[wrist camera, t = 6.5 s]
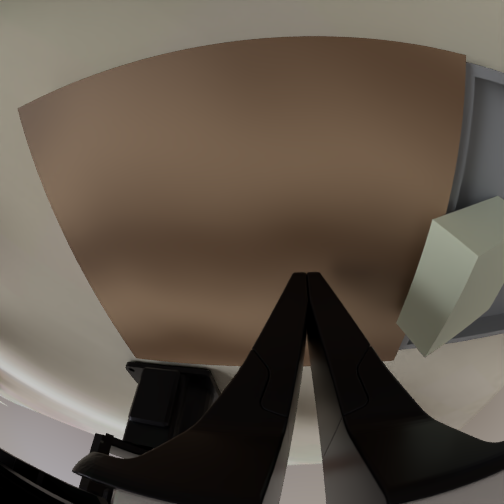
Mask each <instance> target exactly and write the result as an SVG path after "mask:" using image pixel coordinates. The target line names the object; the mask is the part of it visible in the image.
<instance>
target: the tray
mask: <svg viewBox="0 0 504 504" xmlns="http://www.w3.org/2000/svg"><path fill="white" fill-rule="evenodd" d="M496 196H499V197H501V198H502V199H503V200H504V73H502V72H499V71H496V70H493V69H490V68H486V67H483V66H479V65H476V64H472V63H468V62H466V77H465V96H464V109H463V119H462V128H461V136H460V143H459V150H458V157H457V163H456V168H455V174H454V179H453V184H452V189H451V194H450V198H449V202H448V207H447V211H446V214H449V213H452V212H455V211H457V210H460V209H463V208H466V207H469V206H471V205H474V204H477V203H479V202H482V201H485V200H488V199H490V198H493V197H496ZM502 333H504V284H503V286H502V287H501V289H500V291H499V293H498V295H497V296H496V298H495V300H494V302H493V303H492V305H491V307H490V308H489V309H488V310H487V311H486V312H485V313H484V314H482V315H481V316H480V317H479V318H478V319H476V320H475V321H474V322H473V323H471V324H470V325H469V326H468V327H466V328H465V329H464V330H462V331H461V332H460V333H458V334H457V335H456V336H454V337H453V338H452V339H450V340H449V341H448V342H446V343H445V344H447V343H454V342H460V341H466V340H471V339H477V338H482V337H487V336H492V335H497V334H502ZM411 348H416V346H415V345H414V344H413V343H412V341H411V340H410V339H409V338H408V337H407V335H406V334H405V336H404V338H403V341H402V343H401V345H400V347H399V350H402V349H411Z"/></svg>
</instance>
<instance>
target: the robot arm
mask: <svg viewBox="0 0 504 504" xmlns="http://www.w3.org/2000/svg"><path fill="white" fill-rule="evenodd" d="M306 337H307V343H308V350H309V357H310V364H311V371H312V378H313V386H314V393H315V401H316V409H317V417H318V426H319V434H320V443H321V452H322V459H323V460H322V462H323V472H324V482H325V493H326V504H504V441H502V442H496V443H492V442H486V441H483V440H480V439H477V438H475V437H473V436H470V435H468V434H465V433H463V432H461V431H459V430H456V429H454V428H452V427H449V426H447V425H445V424H443V423H440V422H438V421H436V420H435V419H433V418H432V417H430V416H429V415H428V414H427V413H425V412H424V411H423V410H422V408H421V407H420V406H419V405H418V404H417V403H416V402H415V400H414V399H413V398H412V397H411V396H410V395H409V393H408V392H407V391H406V390H405V389H404V388H403V386H402V385H401V384H400V383H399V382H398V381H397V379H396V378H395V377H394V376H393V375H392V373H391V372H390V371H389V370H388V368H387V367H386V366H385V364H384V363H383V362H382V360H381V359H380V357H379V356H378V355H377V353H376V352H375V350H374V349H373V347H372V346H371V345H370V343H369V341H368V340H367V338H366V337H365V336H364V334H363V333H362V331H361V330H360V328H359V327H358V325H357V324H356V322H355V321H354V320H353V318H352V317H351V315H350V314H349V312H348V311H347V310H346V308H345V307H344V305H343V304H342V302H341V301H340V300H339V298H338V297H337V295H336V294H335V293H334V291H333V290H332V288H331V287H330V286H329V284H328V283H327V281H326V280H325V279H324V277H323V276H322V274H321V273H320V272H307V274H306V273H305V272H294V273H293V274H292V275H291V277H290V279H289V281H288V283H287V285H286V287H285V289H284V290H283V292H282V294H281V296H280V298H279V300H278V302H277V304H276V305H275V307H274V309H273V311H272V313H271V315H270V316H269V318H268V320H267V322H266V324H265V326H264V327H263V329H262V331H261V333H260V335H259V336H258V338H257V340H256V342H255V344H254V345H253V347H252V350H251V351H250V352H249V354H248V356H247V358H246V359H245V361H244V363H243V364H242V366H241V367H240V369H239V371H238V372H237V374H236V375H235V376H234V378H233V379H232V380H231V382H230V383H229V384H228V386H227V387H226V388H225V390H224V391H223V392H222V393H221V394H220V392H219V389H218V387H217V385H216V383H215V381H214V378H213V376H212V374H211V372H210V371H208V370H205V369H194V368H182V367H171V366H161V365H152V364H144V363H136V362H127V365H126V367H125V368H126V370H127V371H128V372H129V373H130V375H131V376H132V377H133V378H134V380H135V381H136V382H137V383H138V386H137V389H136V393H135V396H134V399H133V402H132V406H131V409H130V412H129V416H128V418H129V419H128V422H127V426H126V429H125V433H124V436H123V440H120V439H117V438H114V436H113V435H110V434H108V433H106V436H105V435H101V434H97V433H95V437H94V440H93V443H92V446H91V450H90V453H89V454H88V455H87V456H85V457H84V458H83V459H81V460H80V461H79V462H78V463H77V464H76V465H75V467H74V468H73V470H72V472H74V473H76V474H78V475H80V476H82V479H81V482H80V485H79V488H77V487H75V486H73V485H70V484H68V483H66V482H64V481H62V480H60V479H58V478H56V477H54V476H52V475H50V474H48V473H45V472H44V471H42V470H40V469H38V468H36V467H34V466H32V465H30V464H28V463H26V462H24V461H22V460H21V459H19V458H17V457H15V456H13V455H12V454H10V453H8V452H7V451H5V450H3V449H1V448H0V504H279V501H280V496H281V492H282V486H283V482H284V477H285V472H286V467H287V462H288V457H289V451H290V446H291V440H292V435H293V429H294V423H295V417H296V411H297V405H298V398H299V391H300V385H301V378H302V371H303V363H304V356H305V348H306ZM109 453H111V454H114V455H116V456H119V457H122V458H125V459H121V458H115V457H113V456H109Z"/></svg>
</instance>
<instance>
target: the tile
mask: <svg viewBox="0 0 504 504" xmlns="http://www.w3.org/2000/svg"><path fill="white" fill-rule="evenodd" d="M503 284H504V200H503V199H502V198H501V197H499V196H496V197H493V198H490V199H488V200H485V201H482V202H479V203H477V204H474V205H471V206H469V207H466V208H463V209H460V210H457V211H455V212H452V213H449V214H446V215H443V216H441V217H438V218H435V219H432V223H431V226H430V230H429V233H428V236H427V240H426V243H425V246H424V249H423V252H422V255H421V259H420V262H419V264H418V267H417V270H416V273H415V276H414V279H413V282H412V284H411V287H410V290H409V292H408V295H407V297H406V300H405V303H404V305H403V308H402V310H401V313H400V315H399V317H398V320H397V322H396V324H397V325H398V326H399V327H400V328H401V329H402V331H403V332H404V333H405V334H406V335H407V337H408V338H409V339H410V340H411V341H412V343H413V344H414V345H415V346H416V348H417V349H418V350H419V351H420V352H421V354H422V355H423V356H424V357H426V356H428V355H429V354H431V353H432V352H434V351H435V350H436V349H438V348H439V347H441V346H442V345H443V344H445V343H446V342H448V341H449V340H450V339H452V338H453V337H454V336H456V335H457V334H458V333H460V332H461V331H462V330H464V329H465V328H466V327H468V326H469V325H470V324H471V323H473V322H474V321H475V320H476V319H478V318H479V317H480V316H481V315H482V314H484V313H485V312H486V311H487V310H488V309H489V308H490V307H491V305H492V303H493V302H494V300H495V298H496V296H497V295H498V293H499V291H500V289H501V287H502V286H503Z"/></svg>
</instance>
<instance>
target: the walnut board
mask: <svg viewBox="0 0 504 504" xmlns="http://www.w3.org/2000/svg"><path fill="white" fill-rule="evenodd" d="M465 77H466V55H463V54H459V53H455V52H450V51H446V50H441V49H437V48H432V47H427V46H421V45H415V44H409V43H402V42H395V41H387V40H378V39H367V38H353V37H327V36H303V37H277V38H263V39H252V40H242V41H234V42H226V43H219V44H213V45H206V46H201V47H195V48H190V49H185V50H180V51H175V52H171V53H166V54H162V55H158V56H154V57H150V58H146V59H143V60H139V61H136V62H132V63H129V64H125V65H122V66H119V67H116V68H113V69H110V70H107V71H104V72H101V73H98V74H95V75H92V76H90V77H87V78H84V79H82V80H79V81H77V82H74V83H72V84H69V85H67V86H64V87H62V88H60V89H57V90H55V91H53V92H51V93H48V94H46V95H44V96H42V97H40V98H38V99H36V100H34V101H32V102H30V103H28V104H26V105H24V106H22V107H20V108H18V112H19V116H20V120H21V123H22V126H23V130H24V133H25V136H26V140H27V143H28V146H29V149H30V152H31V155H32V158H33V161H34V163H35V166H36V169H37V172H38V174H39V177H40V180H41V182H42V185H43V187H44V190H45V192H46V195H47V197H48V200H49V202H50V204H51V207H52V209H53V211H54V214H55V216H56V218H57V220H58V223H59V225H60V227H61V229H62V231H63V233H64V235H65V238H66V240H67V242H68V244H69V246H70V248H71V250H72V252H73V254H74V256H75V258H76V260H77V262H78V263H79V265H80V267H81V269H82V271H83V273H84V275H85V277H86V278H87V280H88V282H89V284H90V286H91V287H92V289H93V291H94V293H95V294H96V296H97V298H98V300H99V301H100V303H101V305H102V306H103V308H104V310H105V311H106V313H107V314H108V316H109V318H110V319H111V321H112V323H113V324H114V326H115V327H116V329H117V330H118V332H119V333H120V335H121V336H122V338H123V340H124V341H125V343H126V344H127V345H128V347H129V348H130V350H131V351H132V353H133V354H134V356H135V357H136V358H140V359H148V360H157V361H168V362H179V363H191V364H206V365H226V366H242V364H243V363H244V361H245V359H246V358H247V356H248V354H249V352H250V351H251V350H252V347H253V345H254V344H255V342H256V340H257V338H258V336H259V335H260V333H261V331H262V329H263V327H264V326H265V324H266V322H267V320H268V318H269V316H270V315H271V313H272V311H273V309H274V307H275V305H276V304H277V302H278V300H279V298H280V296H281V294H282V292H283V290H284V289H285V287H286V285H287V283H288V281H289V279H290V277H291V275H292V274H293V273H294V272H305V273H306V274H307V272H320V273H321V274H322V276H323V277H324V279H325V280H326V281H327V283H328V284H329V286H330V287H331V288H332V290H333V291H334V293H335V294H336V295H337V297H338V298H339V300H340V301H341V302H342V304H343V305H344V307H345V308H346V310H347V311H348V312H349V314H350V315H351V317H352V318H353V320H354V321H355V322H356V324H357V325H358V327H359V328H360V330H361V331H362V333H363V334H364V336H365V337H366V338H367V340H368V341H369V343H370V345H371V346H372V347H373V349H374V350H375V352H376V353H377V355H378V356H379V357H380V359H381V360H382V361H392V360H394V358H395V356H396V354H397V352H398V350H399V347H400V345H401V343H402V341H403V338H404V336H405V333H404V332H403V331H402V329H401V328H400V327H399V326H398V325H397V324H396V322H397V320H398V317H399V315H400V313H401V310H402V308H403V305H404V303H405V300H406V297H407V295H408V292H409V290H410V287H411V284H412V282H413V279H414V276H415V273H416V270H417V267H418V264H419V262H420V259H421V255H422V252H423V249H424V246H425V243H426V240H427V236H428V233H429V230H430V226H431V223H432V219H435V218H438V217H441V216H443V215H446V211H447V207H448V202H449V198H450V194H451V189H452V184H453V179H454V174H455V168H456V163H457V157H458V150H459V143H460V136H461V128H462V119H463V109H464V96H465ZM303 366H311V364H310V357H309V350H308V343H307V337H306V348H305V356H304V363H303Z"/></svg>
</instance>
